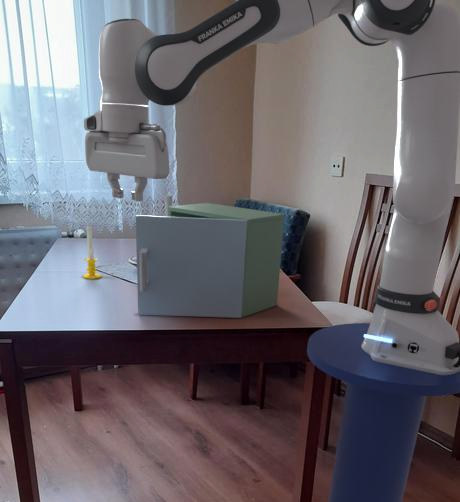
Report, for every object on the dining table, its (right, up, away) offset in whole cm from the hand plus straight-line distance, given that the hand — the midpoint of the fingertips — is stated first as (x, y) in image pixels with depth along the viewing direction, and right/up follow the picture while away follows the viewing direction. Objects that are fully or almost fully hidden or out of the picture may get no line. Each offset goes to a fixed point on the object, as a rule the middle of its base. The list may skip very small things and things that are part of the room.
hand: (127, 199), depth 111 cm
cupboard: (+18, -12, +43) cm, 48 cm away
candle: (-22, -2, +59) cm, 63 cm away
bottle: (+2, -3, +58) cm, 58 cm away
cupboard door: (+11, -20, +26) cm, 35 cm away
